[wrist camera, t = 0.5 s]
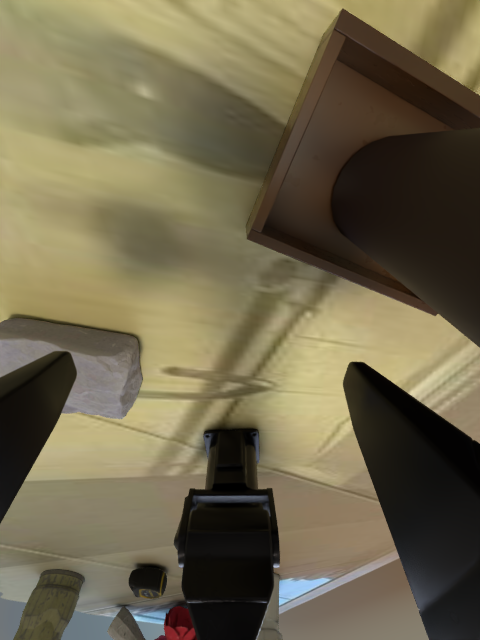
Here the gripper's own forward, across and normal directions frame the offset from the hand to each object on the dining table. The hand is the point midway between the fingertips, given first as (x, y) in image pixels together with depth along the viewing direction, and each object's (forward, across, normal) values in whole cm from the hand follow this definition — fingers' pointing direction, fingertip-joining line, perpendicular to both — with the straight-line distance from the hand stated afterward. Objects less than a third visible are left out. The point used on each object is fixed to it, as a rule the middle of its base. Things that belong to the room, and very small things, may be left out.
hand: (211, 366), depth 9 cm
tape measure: (+15, +14, +68) cm, 71 cm away
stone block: (+14, +14, +12) cm, 24 cm away
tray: (+14, -10, -4) cm, 18 cm away
